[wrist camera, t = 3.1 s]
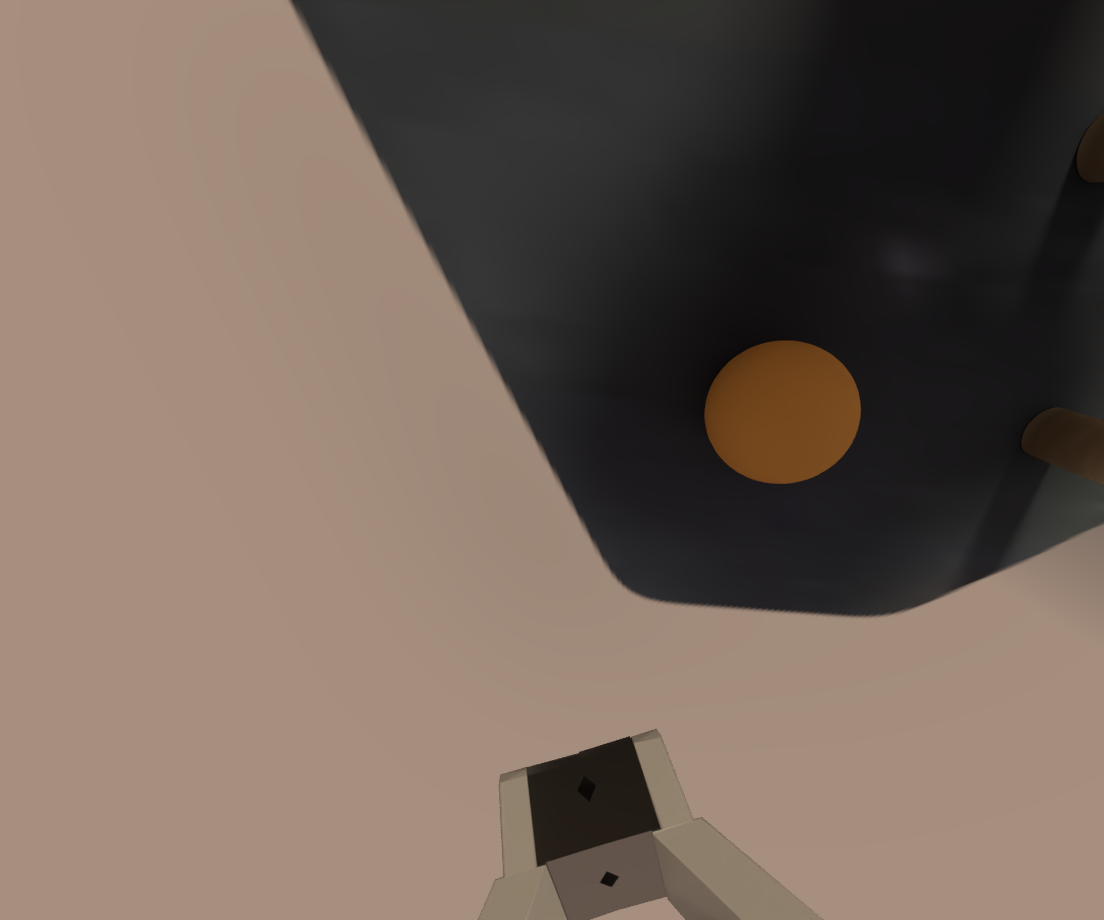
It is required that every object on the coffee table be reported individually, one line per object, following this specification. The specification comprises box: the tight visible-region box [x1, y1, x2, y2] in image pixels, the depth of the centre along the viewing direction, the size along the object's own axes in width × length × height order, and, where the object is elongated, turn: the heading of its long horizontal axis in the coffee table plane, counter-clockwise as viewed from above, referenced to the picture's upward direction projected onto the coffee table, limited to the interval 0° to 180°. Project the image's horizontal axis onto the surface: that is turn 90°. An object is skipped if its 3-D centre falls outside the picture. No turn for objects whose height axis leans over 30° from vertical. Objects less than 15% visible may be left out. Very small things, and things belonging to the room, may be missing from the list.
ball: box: [705, 340, 861, 484], centre depth 20 cm, size 6×6×6 cm
